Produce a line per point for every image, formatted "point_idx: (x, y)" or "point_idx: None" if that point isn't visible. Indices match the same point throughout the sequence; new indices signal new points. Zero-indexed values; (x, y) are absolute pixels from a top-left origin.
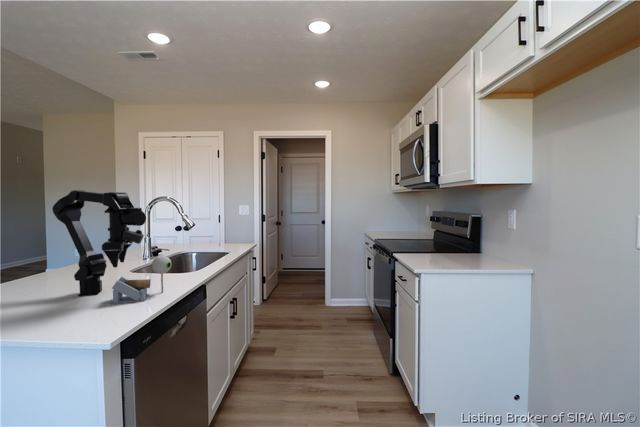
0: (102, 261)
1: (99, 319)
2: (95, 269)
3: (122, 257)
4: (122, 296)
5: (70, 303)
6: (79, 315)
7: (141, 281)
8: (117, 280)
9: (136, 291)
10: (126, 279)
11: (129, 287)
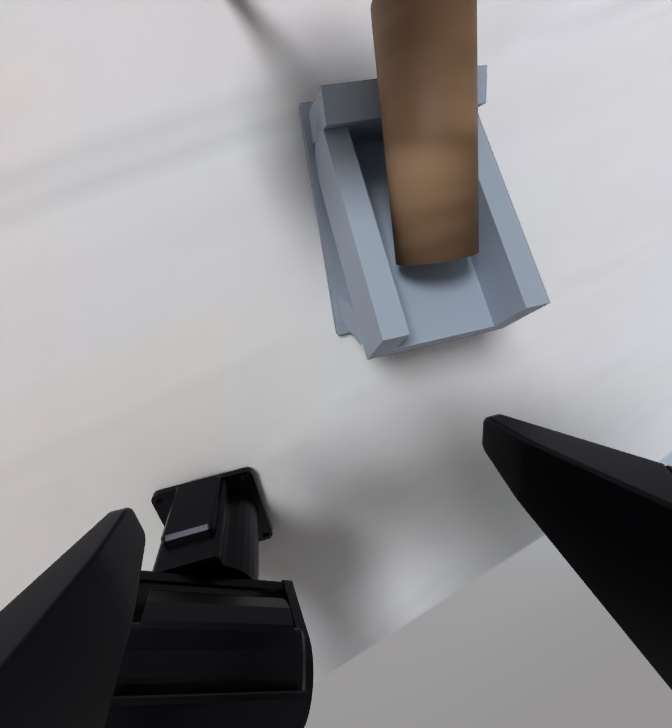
0: (159, 720)
1: (654, 250)
2: (267, 629)
3: (96, 604)
4: (345, 291)
5: (378, 495)
6: (561, 366)
7: (473, 78)
8: (542, 303)
9: (483, 137)
10: (385, 282)
11: (506, 193)
